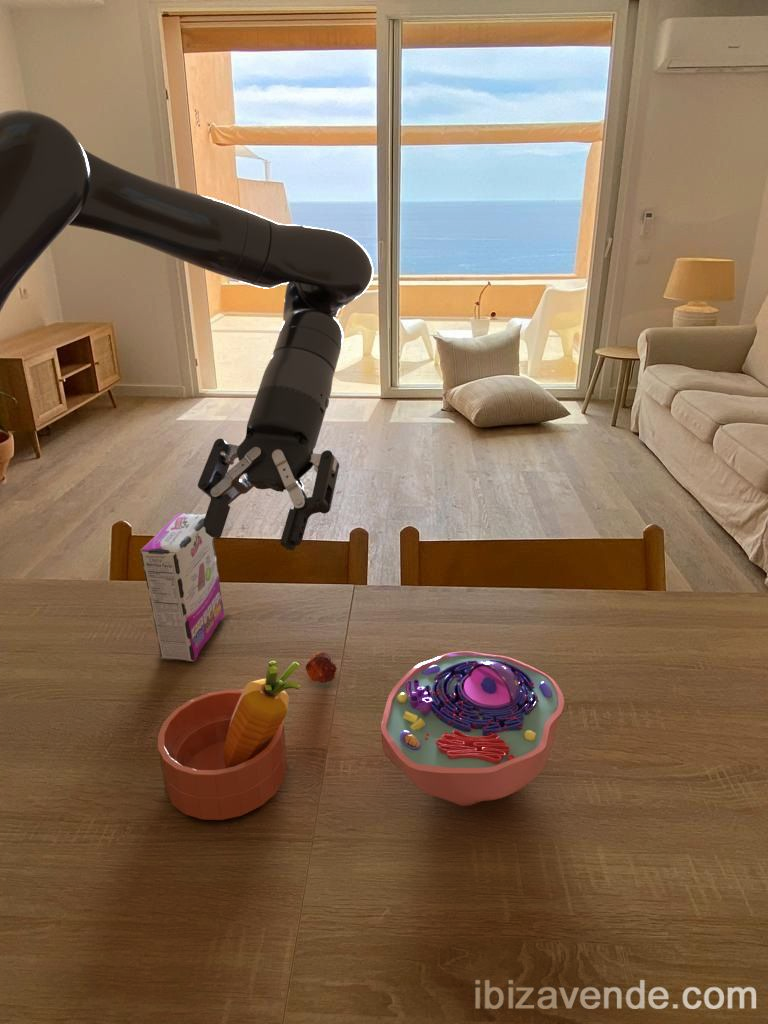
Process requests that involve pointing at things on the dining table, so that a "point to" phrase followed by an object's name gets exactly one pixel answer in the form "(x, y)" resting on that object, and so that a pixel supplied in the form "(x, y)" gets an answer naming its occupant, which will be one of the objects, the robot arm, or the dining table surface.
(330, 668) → the meatball
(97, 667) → the dining table surface
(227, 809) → the mixing bowl
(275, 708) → the carrot
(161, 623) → the candy bar box
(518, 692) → the cell model
